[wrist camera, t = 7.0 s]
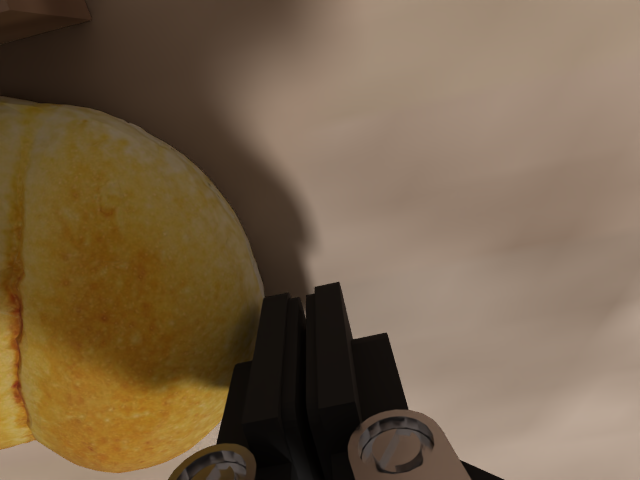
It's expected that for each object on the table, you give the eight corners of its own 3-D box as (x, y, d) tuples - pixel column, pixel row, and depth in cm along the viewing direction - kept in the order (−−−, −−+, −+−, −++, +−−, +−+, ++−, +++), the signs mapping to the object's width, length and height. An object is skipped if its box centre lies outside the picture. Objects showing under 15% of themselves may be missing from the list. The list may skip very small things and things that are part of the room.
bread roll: (242, 433, 14) (220, 572, 10) (-99, 381, 13) (-256, 513, 10) (302, 142, 11) (300, 190, 8) (-127, 51, 10) (-368, 56, 7)
